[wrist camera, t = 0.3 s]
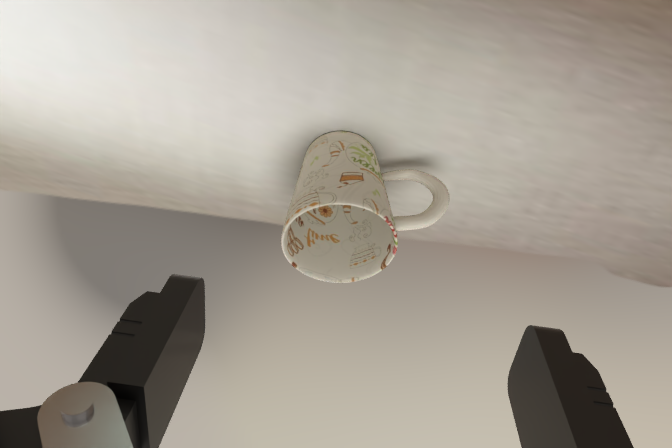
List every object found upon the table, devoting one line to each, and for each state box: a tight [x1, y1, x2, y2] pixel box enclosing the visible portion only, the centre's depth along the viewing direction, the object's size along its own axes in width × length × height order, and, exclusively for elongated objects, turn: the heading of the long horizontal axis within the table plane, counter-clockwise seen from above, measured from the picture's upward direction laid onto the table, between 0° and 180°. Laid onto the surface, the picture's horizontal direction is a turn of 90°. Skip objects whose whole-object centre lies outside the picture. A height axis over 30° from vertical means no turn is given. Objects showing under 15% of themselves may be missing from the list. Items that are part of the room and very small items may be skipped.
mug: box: [281, 131, 449, 283], centre depth 42 cm, size 8×13×10 cm, turn 97°
